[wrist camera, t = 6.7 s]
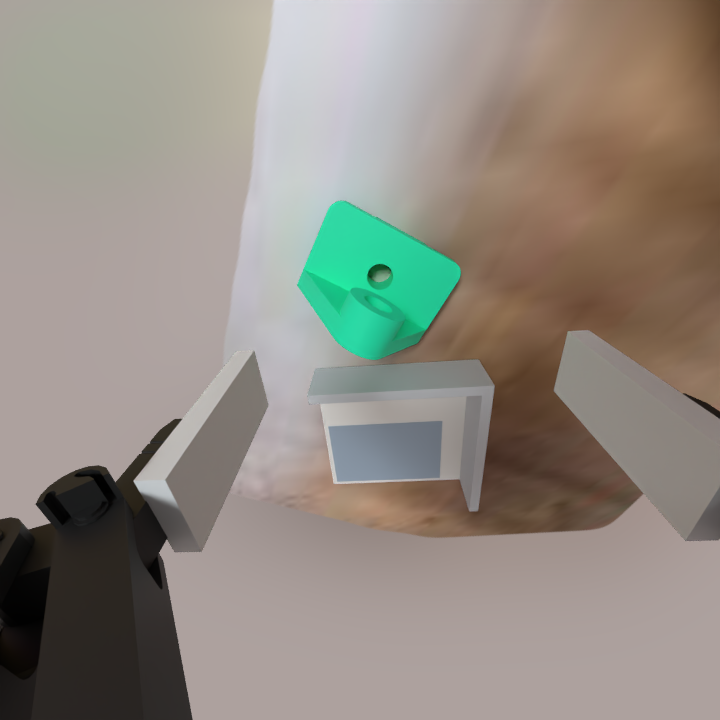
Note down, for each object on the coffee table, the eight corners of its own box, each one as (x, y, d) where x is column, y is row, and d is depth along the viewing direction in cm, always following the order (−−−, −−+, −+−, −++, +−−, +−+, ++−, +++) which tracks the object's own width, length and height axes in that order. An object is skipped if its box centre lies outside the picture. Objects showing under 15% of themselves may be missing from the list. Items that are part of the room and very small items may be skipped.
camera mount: (458, 262, 29) (497, 297, 20) (414, 331, 33) (431, 388, 24) (336, 194, 27) (320, 201, 18) (302, 277, 30) (273, 317, 21)
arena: (315, 368, 35) (307, 395, 30) (478, 359, 34) (494, 385, 29) (334, 481, 43) (330, 515, 38) (466, 476, 42) (478, 511, 37)
